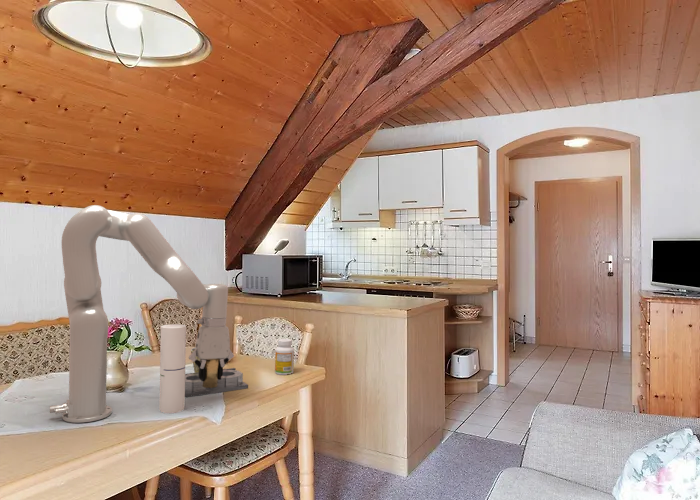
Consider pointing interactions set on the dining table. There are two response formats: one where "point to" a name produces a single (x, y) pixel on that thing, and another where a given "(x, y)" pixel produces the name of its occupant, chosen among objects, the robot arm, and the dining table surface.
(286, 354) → the supplement bottle
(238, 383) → the jig
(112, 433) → the dining table surface
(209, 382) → the cylinder
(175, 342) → the cylindrical container
